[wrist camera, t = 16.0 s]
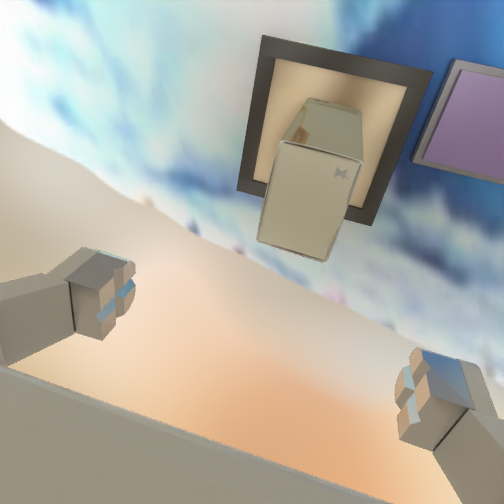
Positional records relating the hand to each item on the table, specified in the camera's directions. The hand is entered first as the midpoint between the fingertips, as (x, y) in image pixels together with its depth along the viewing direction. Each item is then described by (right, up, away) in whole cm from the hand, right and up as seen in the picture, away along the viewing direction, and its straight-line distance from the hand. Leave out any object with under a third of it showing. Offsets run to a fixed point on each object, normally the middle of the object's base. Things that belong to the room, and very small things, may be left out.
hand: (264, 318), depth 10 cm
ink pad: (+16, +11, +16) cm, 25 cm away
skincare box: (+5, +11, +19) cm, 22 cm away
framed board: (+5, +11, +19) cm, 22 cm away
